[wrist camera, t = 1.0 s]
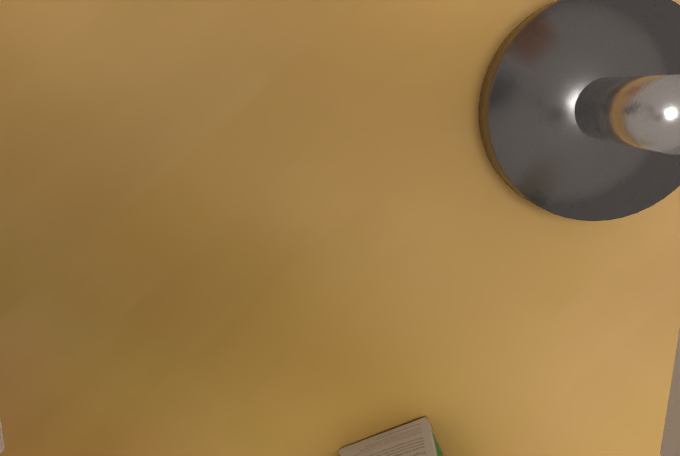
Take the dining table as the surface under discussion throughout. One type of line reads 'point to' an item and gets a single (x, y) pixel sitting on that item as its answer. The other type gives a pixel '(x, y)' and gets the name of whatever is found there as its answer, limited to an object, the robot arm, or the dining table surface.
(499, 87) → the hub
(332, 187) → the dining table surface
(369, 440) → the skincare box
